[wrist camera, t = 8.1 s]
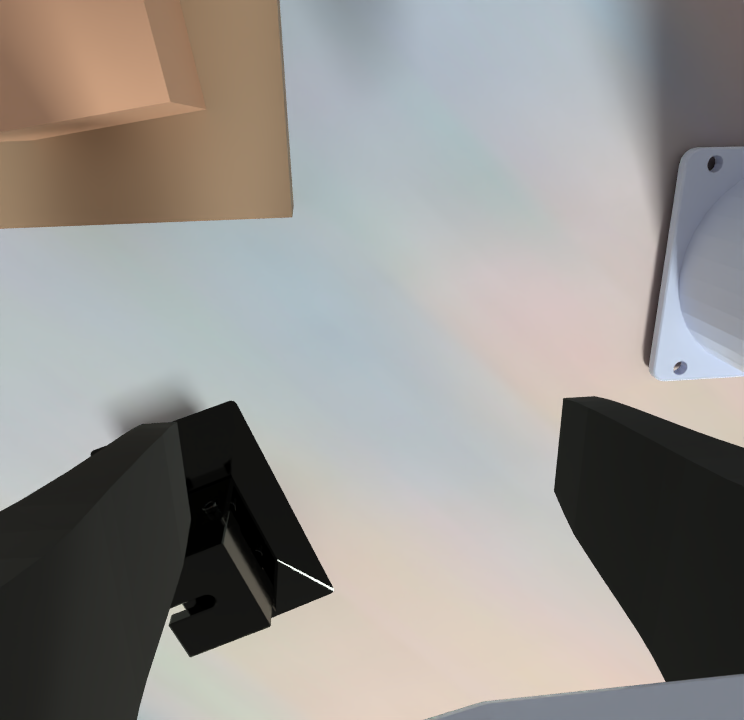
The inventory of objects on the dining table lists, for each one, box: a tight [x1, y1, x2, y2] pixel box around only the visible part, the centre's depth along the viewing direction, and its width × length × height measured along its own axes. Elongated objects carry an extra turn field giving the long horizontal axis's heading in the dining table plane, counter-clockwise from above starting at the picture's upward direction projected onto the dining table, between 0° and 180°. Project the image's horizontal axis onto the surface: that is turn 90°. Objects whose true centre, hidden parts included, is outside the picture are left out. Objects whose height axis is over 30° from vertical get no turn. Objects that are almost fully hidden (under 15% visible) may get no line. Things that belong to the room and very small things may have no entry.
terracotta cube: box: [0, 0, 206, 142], centre depth 13 cm, size 4×4×4 cm
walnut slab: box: [0, 0, 294, 229], centre depth 16 cm, size 9×9×3 cm
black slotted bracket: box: [91, 401, 334, 657], centre depth 22 cm, size 12×7×5 cm, turn 21°
